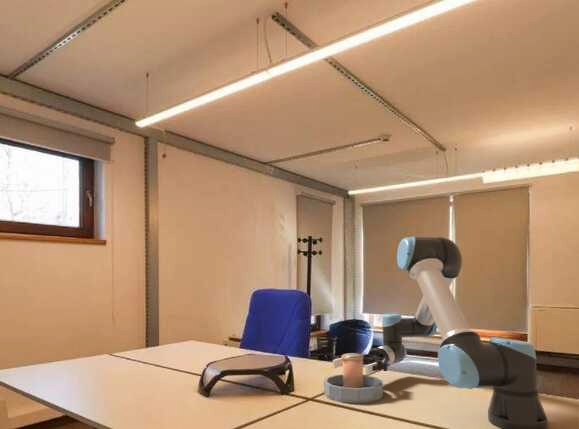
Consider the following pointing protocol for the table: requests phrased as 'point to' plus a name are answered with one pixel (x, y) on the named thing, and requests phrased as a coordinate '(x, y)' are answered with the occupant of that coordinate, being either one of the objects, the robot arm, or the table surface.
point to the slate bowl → (353, 390)
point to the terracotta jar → (352, 370)
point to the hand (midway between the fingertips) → (349, 366)
